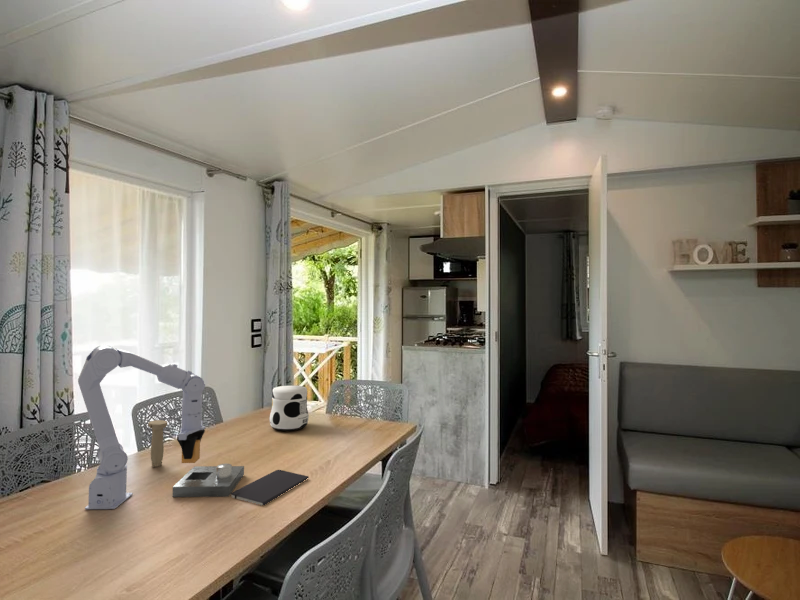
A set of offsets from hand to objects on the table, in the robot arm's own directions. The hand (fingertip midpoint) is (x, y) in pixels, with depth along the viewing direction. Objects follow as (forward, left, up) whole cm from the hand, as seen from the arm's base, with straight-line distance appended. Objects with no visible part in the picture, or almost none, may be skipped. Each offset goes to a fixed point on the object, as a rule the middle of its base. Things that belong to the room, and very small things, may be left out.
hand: (190, 456), depth 138 cm
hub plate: (-2, -7, -8) cm, 11 cm away
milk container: (+61, -20, -9) cm, 65 cm away
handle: (+15, +17, -9) cm, 24 cm away
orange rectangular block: (0, 0, -2) cm, 2 cm away
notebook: (-4, -26, -9) cm, 28 cm away
